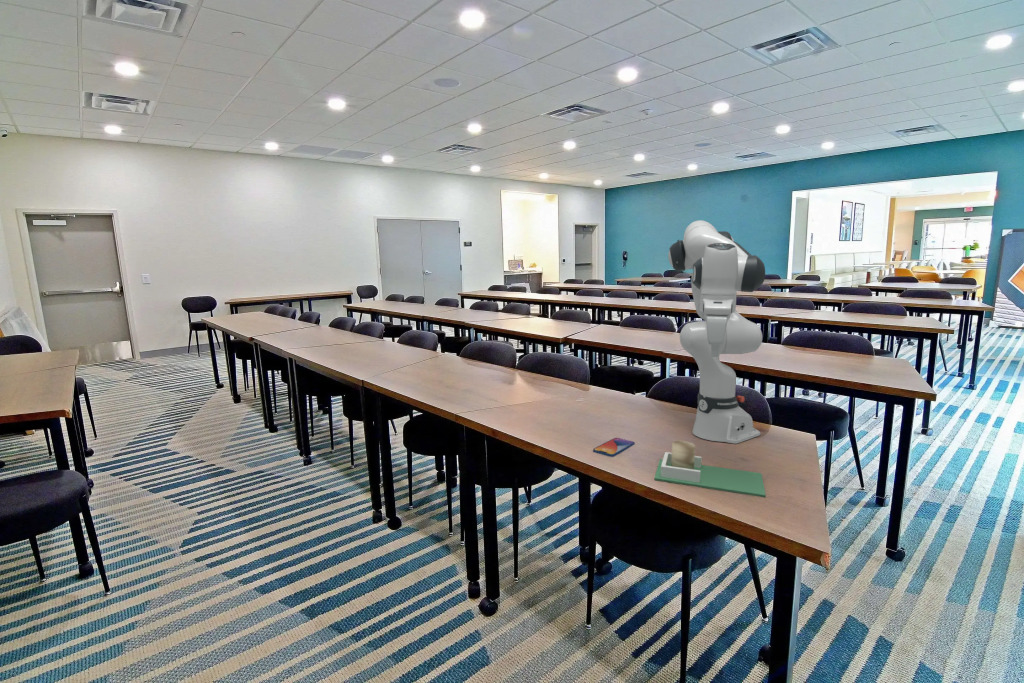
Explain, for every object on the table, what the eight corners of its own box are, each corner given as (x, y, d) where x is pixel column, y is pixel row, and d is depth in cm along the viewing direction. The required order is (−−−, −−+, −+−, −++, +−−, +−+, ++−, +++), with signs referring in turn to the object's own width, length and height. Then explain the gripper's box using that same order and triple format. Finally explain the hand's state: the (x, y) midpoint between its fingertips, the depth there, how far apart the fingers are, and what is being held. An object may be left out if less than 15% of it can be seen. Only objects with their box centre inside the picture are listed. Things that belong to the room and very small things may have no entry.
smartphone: (635, 445, 161) (636, 442, 161) (612, 458, 150) (612, 455, 150) (615, 440, 166) (615, 437, 166) (591, 452, 155) (591, 449, 154)
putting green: (761, 475, 136) (762, 462, 136) (765, 497, 124) (766, 483, 123) (659, 460, 147) (660, 449, 146) (654, 480, 134) (654, 467, 133)
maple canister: (683, 466, 141) (684, 439, 140) (698, 474, 136) (700, 446, 135) (666, 469, 139) (667, 442, 138) (681, 478, 134) (682, 450, 132)
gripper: (706, 301, 142) (703, 349, 144) (703, 308, 124) (700, 362, 126) (729, 302, 140) (726, 350, 142) (731, 308, 121) (727, 364, 123)
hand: (714, 356), depth 134 cm, fingers closed
